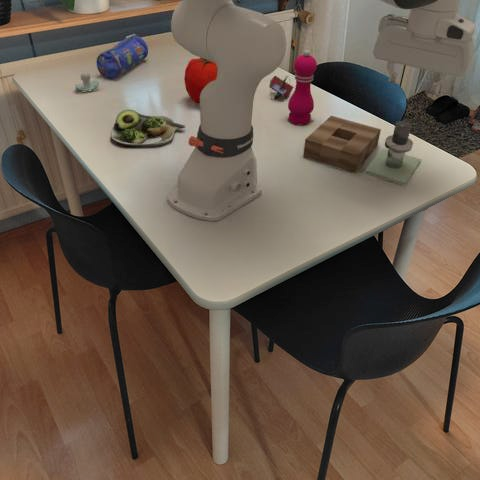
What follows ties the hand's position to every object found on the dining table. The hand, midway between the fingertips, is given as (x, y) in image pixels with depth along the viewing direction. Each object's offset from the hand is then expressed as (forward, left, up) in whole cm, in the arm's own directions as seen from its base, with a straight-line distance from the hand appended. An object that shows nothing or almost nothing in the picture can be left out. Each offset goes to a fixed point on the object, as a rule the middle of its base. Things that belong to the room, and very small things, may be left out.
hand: (412, 86), depth 112 cm
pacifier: (-9, +95, -21) cm, 98 cm away
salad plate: (-21, +63, -21) cm, 70 cm away
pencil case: (+11, +97, -21) cm, 100 cm away
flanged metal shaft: (0, 0, -20) cm, 20 cm away
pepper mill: (+10, +31, -21) cm, 39 cm away
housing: (0, +14, -21) cm, 25 cm away
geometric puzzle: (+21, +43, -21) cm, 52 cm away
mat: (0, 0, -21) cm, 21 cm away
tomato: (+5, +60, -21) cm, 64 cm away
